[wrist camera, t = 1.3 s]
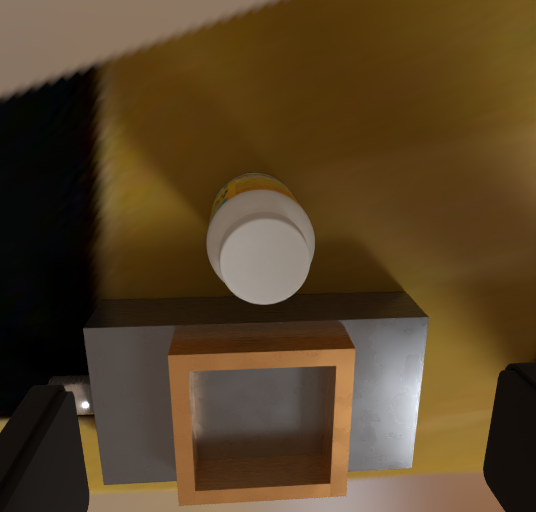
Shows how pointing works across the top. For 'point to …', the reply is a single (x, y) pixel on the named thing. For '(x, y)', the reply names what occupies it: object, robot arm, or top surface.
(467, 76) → the top surface
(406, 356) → the gray brown rimmed box
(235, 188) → the supplement bottle
